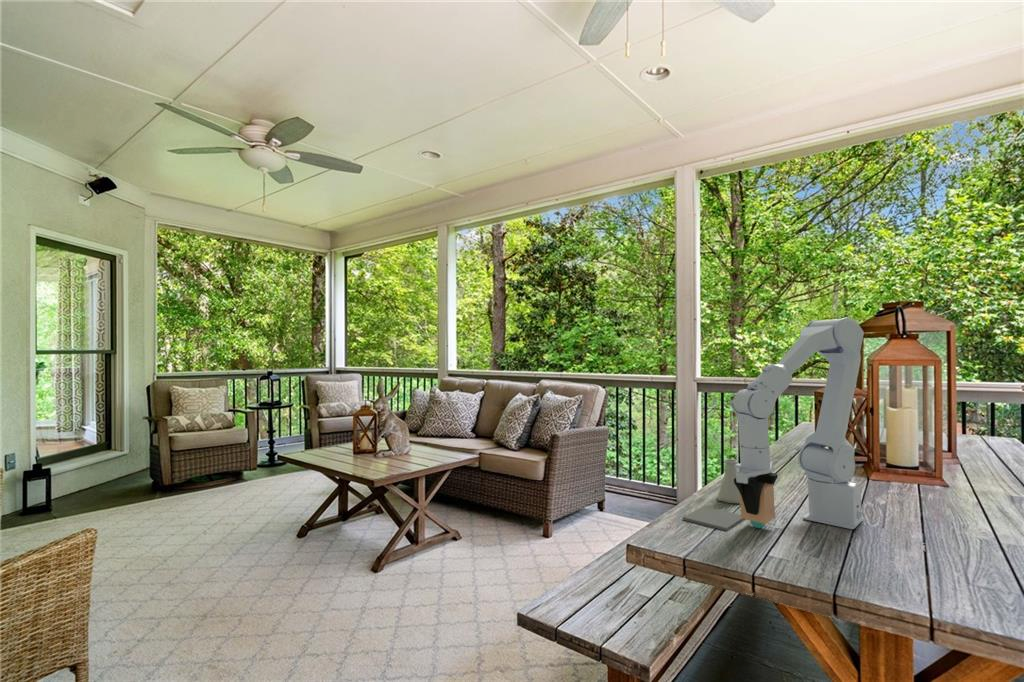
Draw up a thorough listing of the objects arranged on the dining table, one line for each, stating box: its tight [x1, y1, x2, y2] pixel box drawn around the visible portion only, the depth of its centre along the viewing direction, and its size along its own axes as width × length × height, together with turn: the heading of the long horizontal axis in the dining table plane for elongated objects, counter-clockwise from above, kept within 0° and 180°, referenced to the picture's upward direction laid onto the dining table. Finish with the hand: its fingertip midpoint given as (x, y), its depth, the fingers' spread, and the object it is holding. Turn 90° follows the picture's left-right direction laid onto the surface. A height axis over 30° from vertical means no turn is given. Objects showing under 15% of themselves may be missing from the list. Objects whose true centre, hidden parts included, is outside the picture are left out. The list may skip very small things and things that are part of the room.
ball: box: [749, 520, 766, 529], centre depth 103 cm, size 3×3×3 cm
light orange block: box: [740, 483, 776, 525], centre depth 103 cm, size 5×5×7 cm
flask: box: [717, 458, 740, 504], centre depth 122 cm, size 7×7×10 cm
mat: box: [682, 506, 746, 532], centre depth 109 cm, size 10×10×1 cm
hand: (757, 510), depth 103 cm, fingers closed on light orange block, 5 cm apart
